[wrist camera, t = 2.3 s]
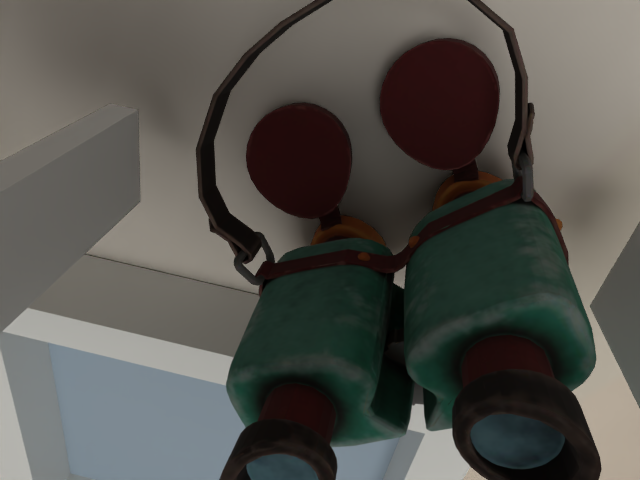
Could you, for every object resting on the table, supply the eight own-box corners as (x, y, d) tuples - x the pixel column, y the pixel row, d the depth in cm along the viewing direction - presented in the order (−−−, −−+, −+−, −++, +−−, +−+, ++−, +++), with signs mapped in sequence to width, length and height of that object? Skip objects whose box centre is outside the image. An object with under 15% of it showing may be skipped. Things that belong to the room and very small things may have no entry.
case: (2, 235, 21) (-66, 285, 18) (483, 347, 20) (496, 420, 17) (50, 464, 29) (9, 524, 26) (386, 549, 28) (384, 620, 25)
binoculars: (548, -198, 4) (722, 560, 7) (466, -64, 14) (559, 248, 17) (-95, 169, 7) (227, 595, 11) (199, 73, 17) (322, 314, 20)
